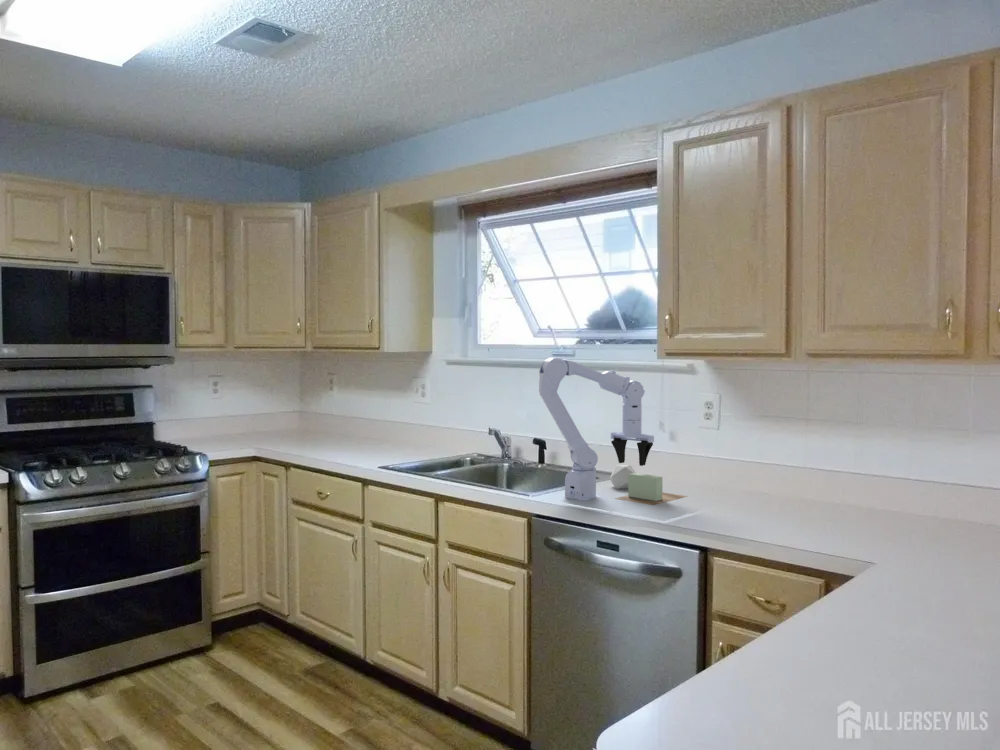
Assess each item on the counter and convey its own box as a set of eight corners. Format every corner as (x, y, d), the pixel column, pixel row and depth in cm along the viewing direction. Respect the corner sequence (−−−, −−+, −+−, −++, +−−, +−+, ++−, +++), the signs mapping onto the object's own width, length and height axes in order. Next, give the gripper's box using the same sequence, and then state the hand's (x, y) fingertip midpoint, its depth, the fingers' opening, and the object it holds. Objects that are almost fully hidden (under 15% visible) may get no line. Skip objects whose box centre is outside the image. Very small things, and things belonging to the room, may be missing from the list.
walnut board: (653, 507, 219) (653, 505, 219) (614, 500, 229) (613, 498, 229) (687, 498, 232) (687, 496, 232) (648, 492, 242) (648, 490, 242)
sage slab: (656, 501, 224) (656, 477, 224) (628, 497, 231) (628, 474, 231) (662, 500, 226) (662, 476, 226) (634, 495, 233) (634, 472, 233)
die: (630, 494, 242) (644, 468, 244) (606, 480, 243) (620, 455, 246) (626, 499, 249) (640, 474, 252) (603, 485, 251) (616, 460, 254)
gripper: (659, 420, 233) (659, 465, 233) (620, 417, 243) (620, 460, 243) (646, 421, 228) (646, 467, 228) (606, 419, 238) (606, 462, 238)
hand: (631, 464), depth 235 cm, fingers open, 7 cm apart
